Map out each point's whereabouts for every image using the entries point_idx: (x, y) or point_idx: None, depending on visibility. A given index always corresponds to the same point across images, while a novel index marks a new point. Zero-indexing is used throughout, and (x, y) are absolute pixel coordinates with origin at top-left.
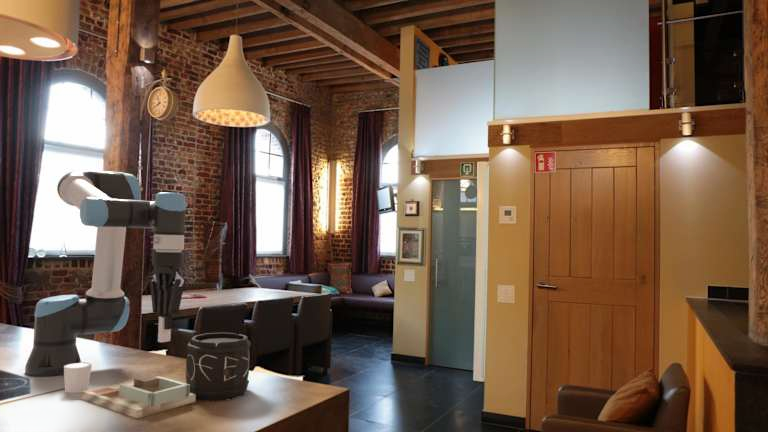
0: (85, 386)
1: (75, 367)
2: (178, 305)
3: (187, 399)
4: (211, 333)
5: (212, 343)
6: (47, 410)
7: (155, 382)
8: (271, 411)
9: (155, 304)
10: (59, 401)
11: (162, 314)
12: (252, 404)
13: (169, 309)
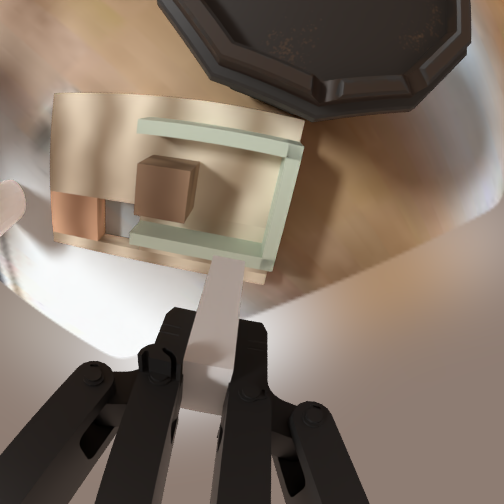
0: (19, 198)
1: None
2: (348, 478)
3: None
4: None
5: (401, 93)
6: (88, 303)
7: (191, 182)
8: (488, 125)
9: (97, 457)
10: (53, 262)
11: (180, 404)
12: (439, 88)
13: (293, 474)
